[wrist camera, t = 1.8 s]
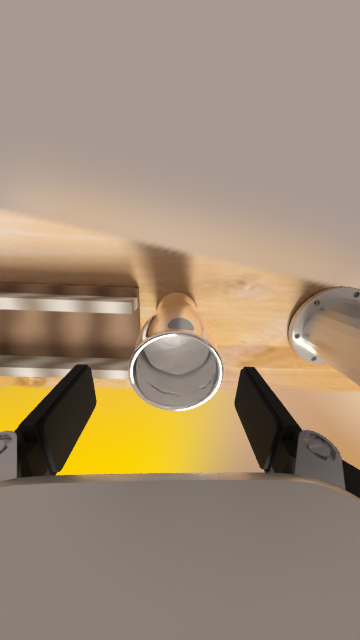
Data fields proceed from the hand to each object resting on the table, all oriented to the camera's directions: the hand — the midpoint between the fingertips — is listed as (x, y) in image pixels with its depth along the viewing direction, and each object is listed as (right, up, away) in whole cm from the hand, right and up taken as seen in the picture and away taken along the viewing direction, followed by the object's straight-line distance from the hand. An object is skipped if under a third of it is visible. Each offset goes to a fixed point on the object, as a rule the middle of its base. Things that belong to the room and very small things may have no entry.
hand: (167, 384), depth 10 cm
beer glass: (0, +5, +15) cm, 16 cm away
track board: (-17, +3, +16) cm, 24 cm away
